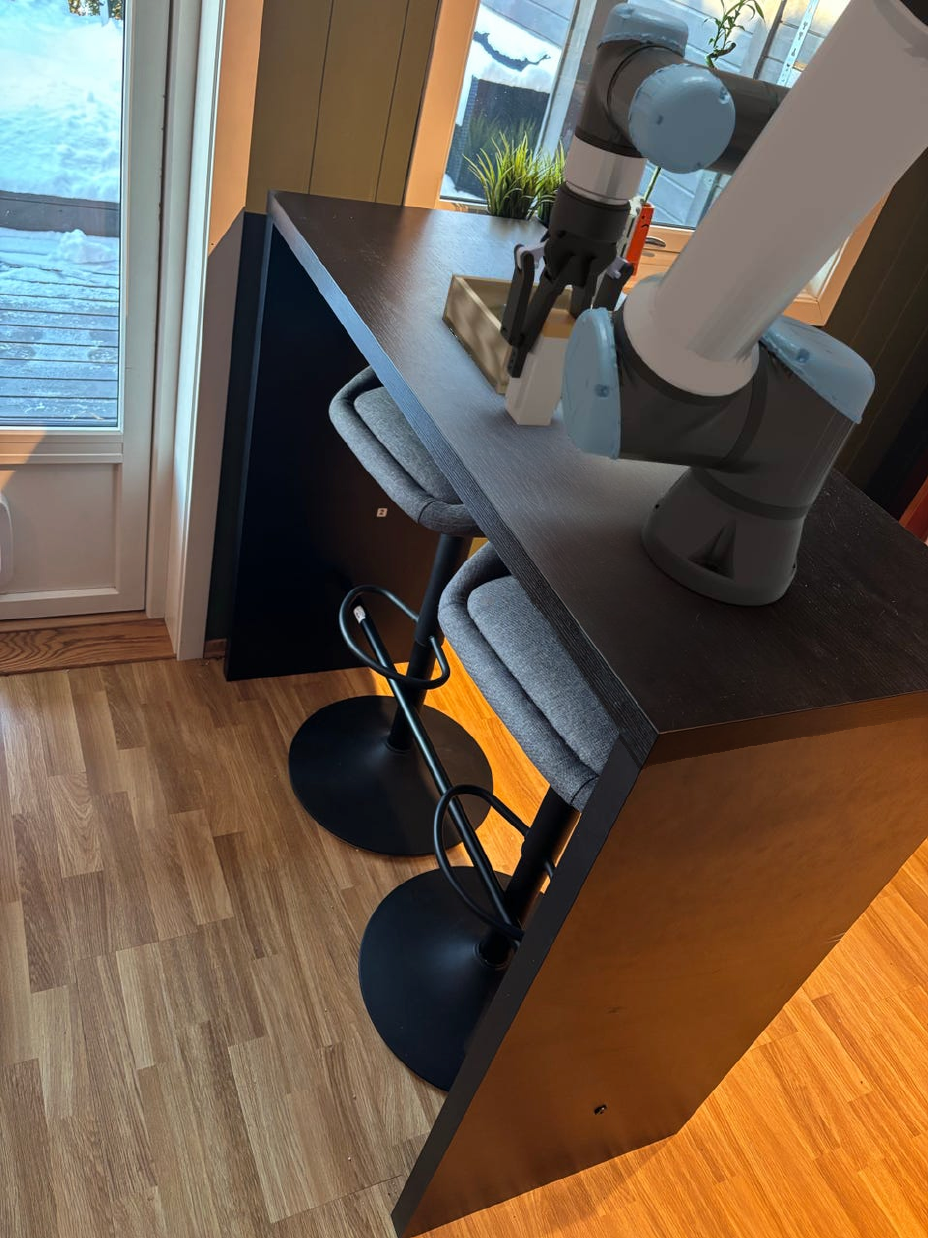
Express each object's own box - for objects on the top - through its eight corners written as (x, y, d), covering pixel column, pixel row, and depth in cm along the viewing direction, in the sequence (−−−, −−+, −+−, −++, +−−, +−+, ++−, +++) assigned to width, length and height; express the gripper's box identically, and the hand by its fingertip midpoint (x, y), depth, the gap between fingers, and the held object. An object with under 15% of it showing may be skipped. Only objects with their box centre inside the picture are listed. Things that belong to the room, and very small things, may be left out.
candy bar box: (578, 297, 144) (614, 185, 134) (609, 308, 144) (647, 197, 134) (564, 320, 135) (602, 202, 125) (598, 332, 135) (638, 214, 125)
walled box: (627, 400, 119) (644, 355, 115) (498, 393, 112) (512, 346, 108) (560, 328, 132) (573, 286, 129) (442, 318, 125) (452, 273, 121)
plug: (549, 425, 108) (581, 326, 101) (517, 424, 107) (549, 323, 99) (535, 407, 111) (566, 309, 104) (504, 406, 109) (533, 306, 102)
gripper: (650, 188, 100) (580, 390, 114) (505, 165, 92) (450, 383, 107) (686, 215, 95) (609, 422, 109) (536, 192, 87) (474, 417, 102)
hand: (530, 403), depth 108 cm, fingers closed on plug, 4 cm apart
